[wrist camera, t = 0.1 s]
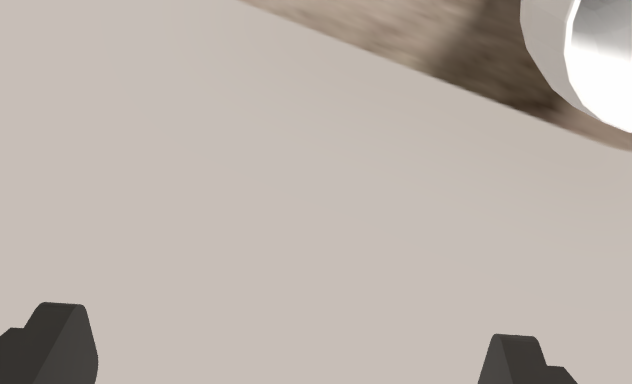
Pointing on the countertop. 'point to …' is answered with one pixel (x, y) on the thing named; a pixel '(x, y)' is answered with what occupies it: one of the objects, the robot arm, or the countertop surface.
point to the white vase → (584, 53)
